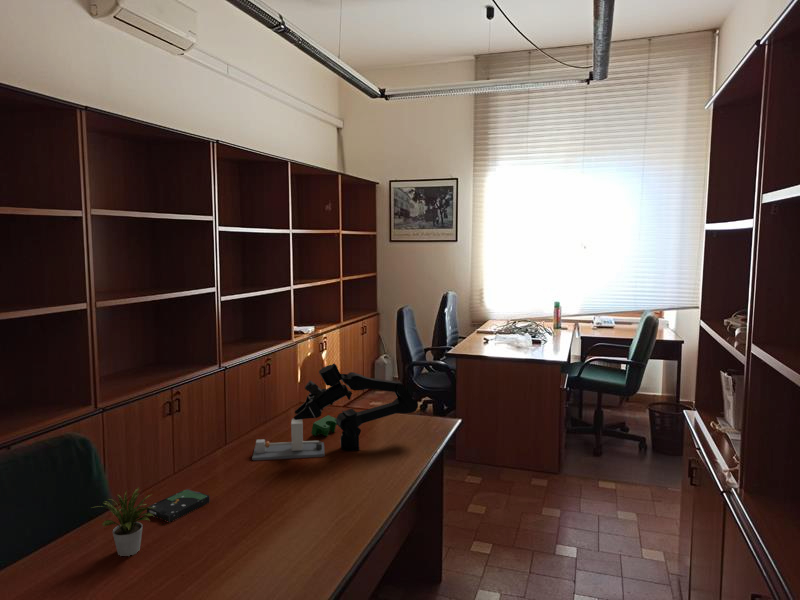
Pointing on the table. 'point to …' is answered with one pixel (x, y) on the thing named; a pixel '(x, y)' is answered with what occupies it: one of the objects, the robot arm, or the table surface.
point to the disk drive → (178, 505)
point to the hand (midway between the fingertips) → (294, 415)
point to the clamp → (324, 426)
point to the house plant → (128, 524)
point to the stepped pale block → (297, 434)
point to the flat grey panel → (287, 450)
